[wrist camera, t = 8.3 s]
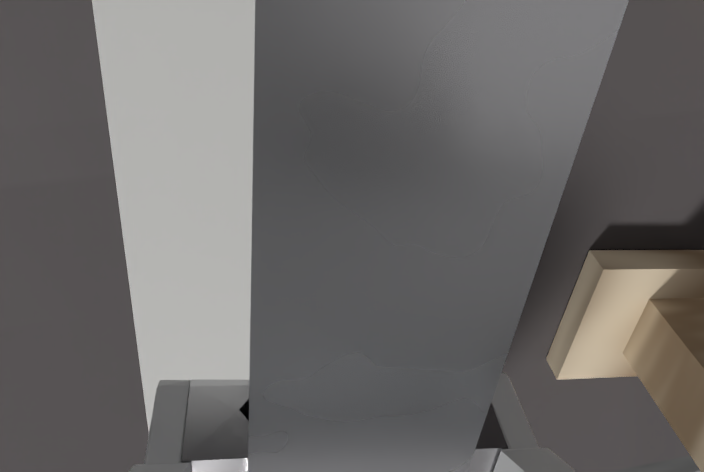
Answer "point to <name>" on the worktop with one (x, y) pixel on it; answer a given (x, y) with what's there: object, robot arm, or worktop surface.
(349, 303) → the steel bar
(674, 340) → the hook post
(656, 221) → the worktop surface
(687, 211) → the worktop surface
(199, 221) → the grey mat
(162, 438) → the robot arm
